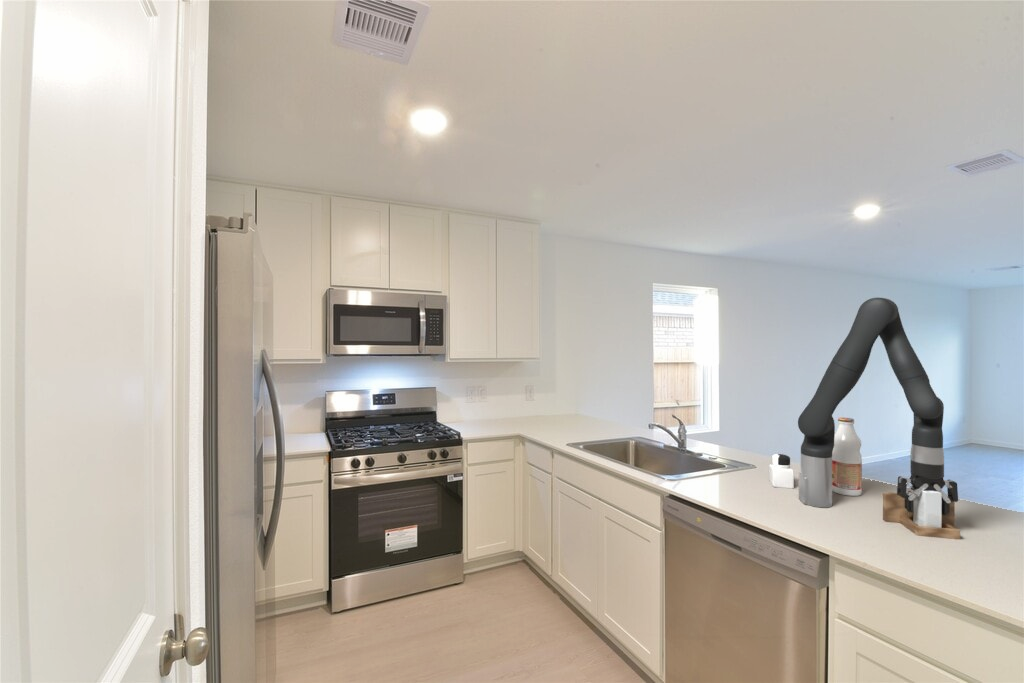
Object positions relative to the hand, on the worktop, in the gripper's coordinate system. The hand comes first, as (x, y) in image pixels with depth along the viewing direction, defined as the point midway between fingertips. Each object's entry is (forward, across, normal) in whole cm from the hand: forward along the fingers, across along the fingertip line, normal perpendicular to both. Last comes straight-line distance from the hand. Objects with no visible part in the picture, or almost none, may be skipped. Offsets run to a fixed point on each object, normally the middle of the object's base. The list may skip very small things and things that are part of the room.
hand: (926, 512), depth 137 cm
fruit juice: (+5, -9, +31) cm, 33 cm away
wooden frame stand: (+5, 0, 0) cm, 5 cm away
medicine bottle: (+5, -30, +34) cm, 46 cm away
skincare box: (+5, 0, 0) cm, 5 cm away
